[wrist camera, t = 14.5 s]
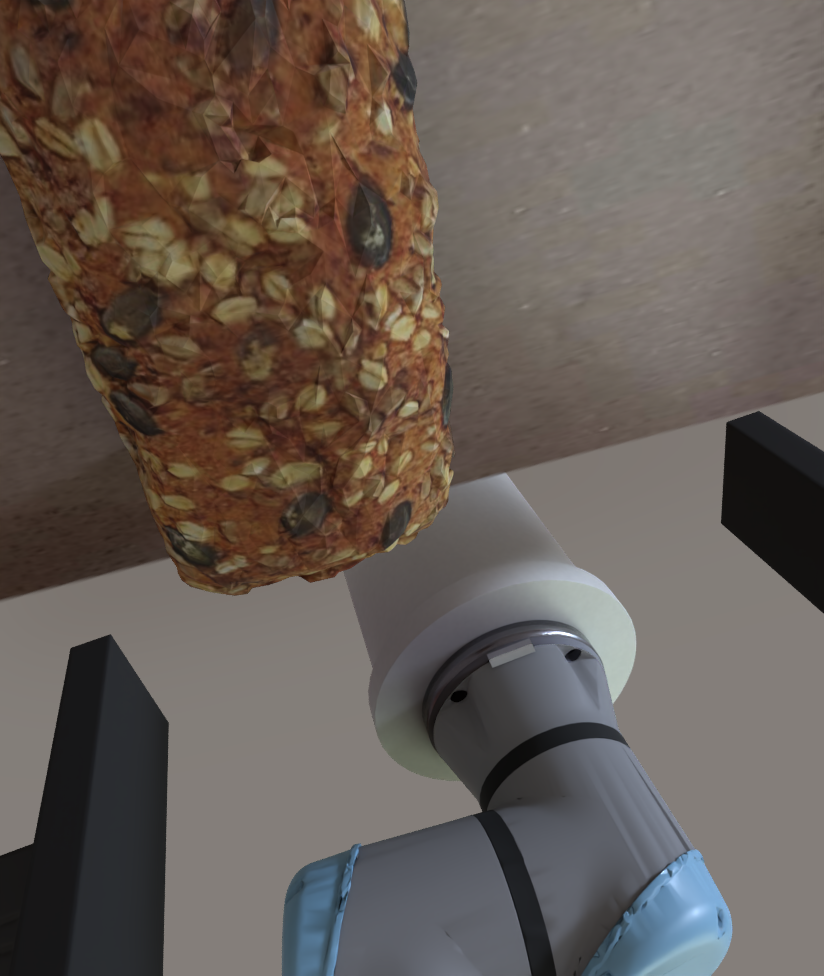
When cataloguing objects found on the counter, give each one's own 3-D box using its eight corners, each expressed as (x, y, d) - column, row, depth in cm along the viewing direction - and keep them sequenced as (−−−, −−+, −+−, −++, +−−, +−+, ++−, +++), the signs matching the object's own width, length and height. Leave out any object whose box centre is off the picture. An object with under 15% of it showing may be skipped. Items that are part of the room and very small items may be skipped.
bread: (-3, -24, 21) (-121, -61, 13) (351, -62, 22) (448, -117, 14) (181, 495, 31) (182, 657, 23) (412, 441, 33) (488, 574, 25)
